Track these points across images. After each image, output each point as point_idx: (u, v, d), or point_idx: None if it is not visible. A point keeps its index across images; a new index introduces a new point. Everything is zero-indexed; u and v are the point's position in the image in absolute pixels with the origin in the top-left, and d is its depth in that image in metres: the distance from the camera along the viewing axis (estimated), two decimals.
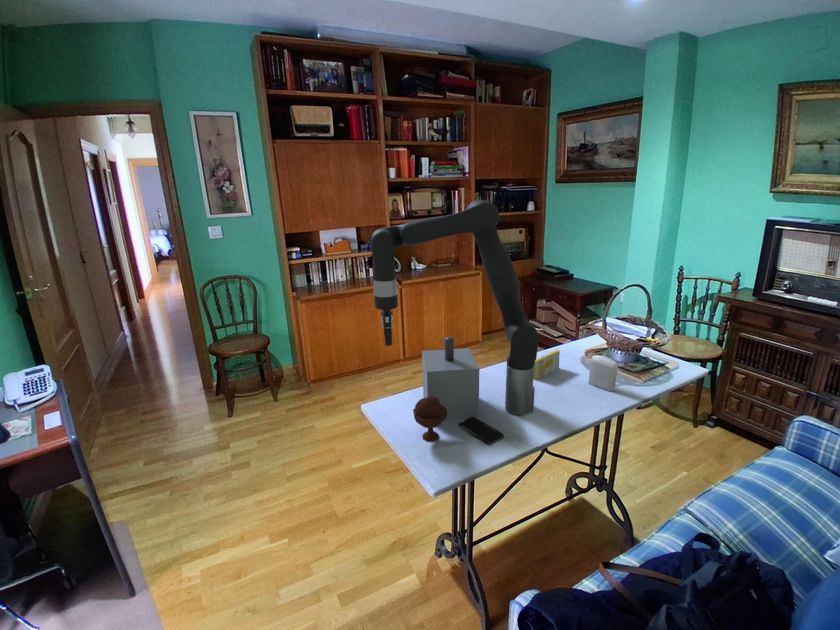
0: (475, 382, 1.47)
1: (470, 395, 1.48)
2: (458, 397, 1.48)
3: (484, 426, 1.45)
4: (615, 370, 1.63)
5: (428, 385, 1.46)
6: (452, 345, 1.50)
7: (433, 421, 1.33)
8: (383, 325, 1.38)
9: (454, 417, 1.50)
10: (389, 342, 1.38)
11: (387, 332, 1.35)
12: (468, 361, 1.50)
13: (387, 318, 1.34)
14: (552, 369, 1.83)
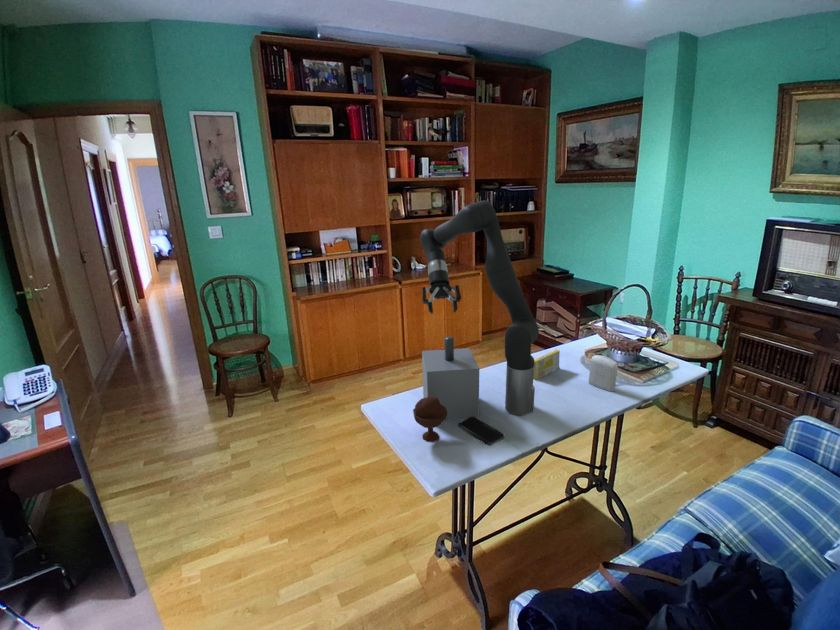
0: (475, 382, 1.47)
1: (470, 395, 1.48)
2: (458, 397, 1.48)
3: (484, 426, 1.45)
4: (615, 370, 1.63)
5: (428, 385, 1.46)
6: (452, 345, 1.50)
7: (433, 421, 1.33)
8: None
9: (454, 417, 1.50)
10: (428, 309, 1.59)
11: None
12: (468, 361, 1.50)
13: (422, 289, 1.63)
14: (552, 369, 1.83)
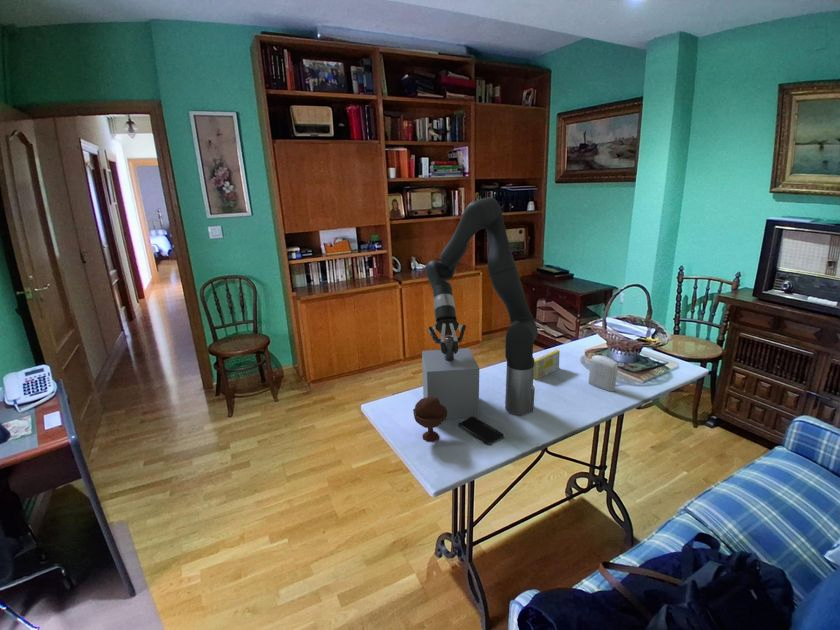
0: (475, 382, 1.47)
1: (470, 395, 1.48)
2: (458, 397, 1.48)
3: (484, 426, 1.45)
4: (615, 370, 1.63)
5: (428, 385, 1.46)
6: (452, 345, 1.50)
7: (433, 421, 1.33)
8: None
9: (454, 417, 1.50)
10: None
11: (435, 340, 1.52)
12: (468, 361, 1.50)
13: None
14: (552, 369, 1.83)
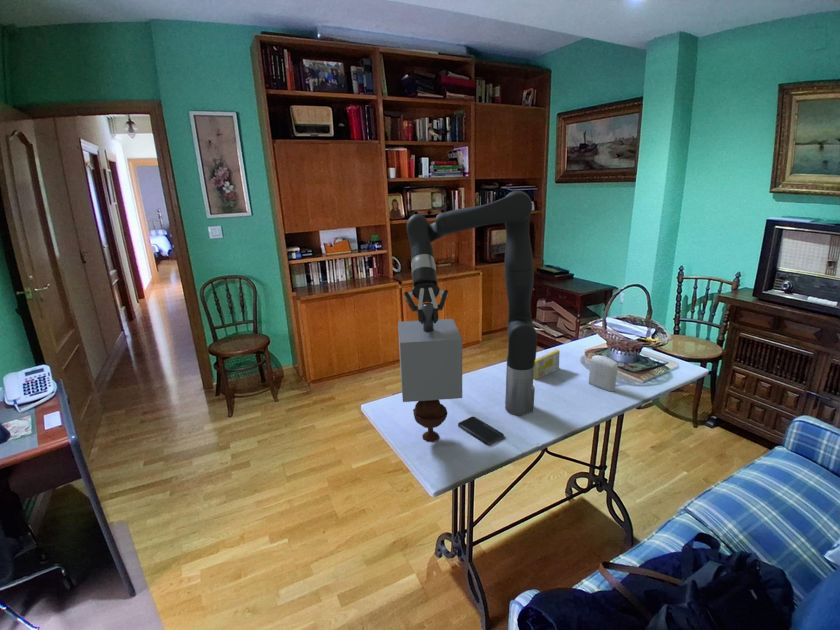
0: (457, 356, 1.24)
1: (452, 371, 1.26)
2: (438, 374, 1.26)
3: (484, 426, 1.45)
4: (615, 370, 1.63)
5: (402, 359, 1.23)
6: (431, 313, 1.28)
7: (433, 421, 1.33)
8: None
9: (433, 397, 1.28)
10: (418, 318, 1.28)
11: (411, 307, 1.30)
12: (450, 332, 1.28)
13: (404, 295, 1.31)
14: (552, 369, 1.83)
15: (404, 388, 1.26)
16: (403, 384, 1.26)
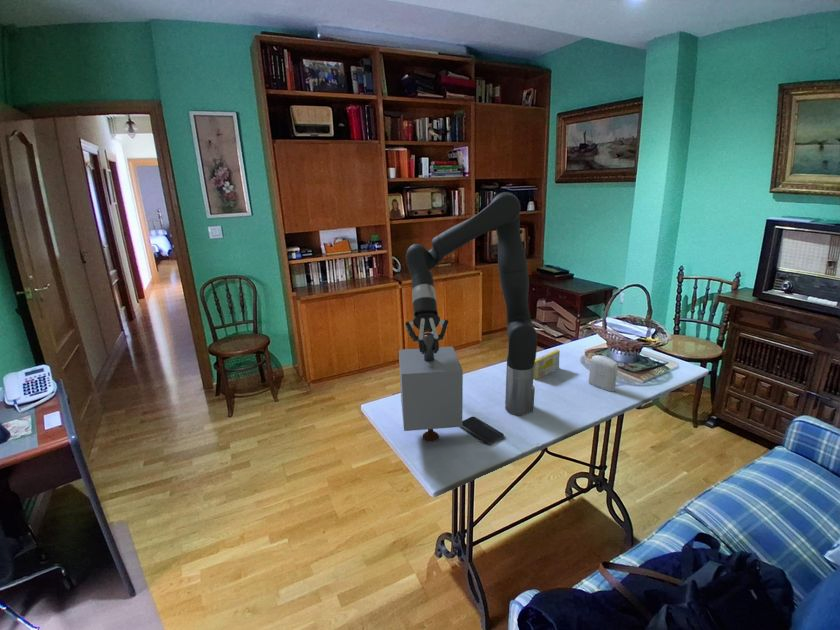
0: (458, 386, 1.27)
1: (452, 401, 1.28)
2: (438, 403, 1.28)
3: (484, 426, 1.45)
4: (615, 370, 1.63)
5: (403, 390, 1.25)
6: (432, 343, 1.30)
7: None
8: None
9: (434, 426, 1.30)
10: None
11: None
12: (450, 362, 1.30)
13: (405, 325, 1.33)
14: (552, 369, 1.83)
15: (405, 417, 1.28)
16: (404, 414, 1.28)
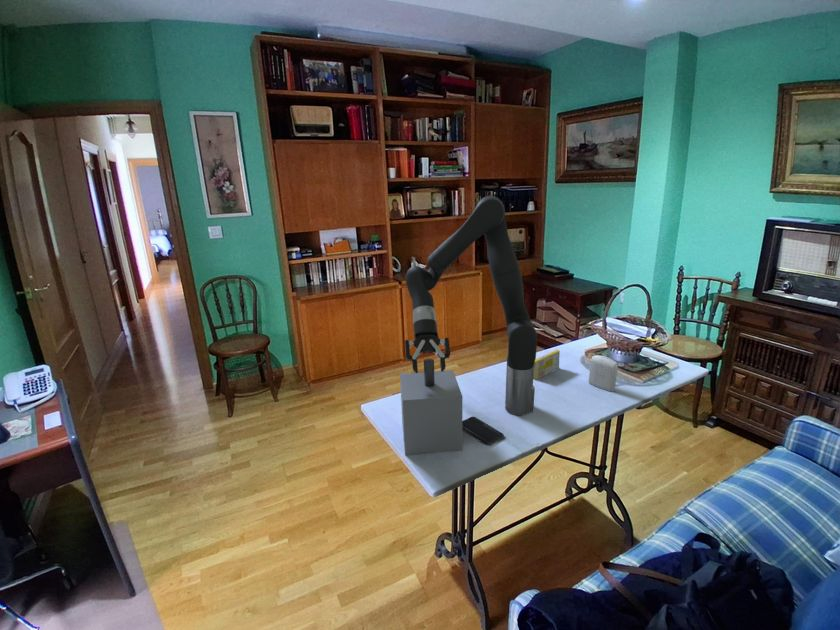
0: (458, 411, 1.29)
1: (452, 426, 1.31)
2: (439, 428, 1.31)
3: (484, 426, 1.45)
4: (615, 370, 1.63)
5: (404, 415, 1.28)
6: (432, 369, 1.33)
7: None
8: None
9: (434, 450, 1.33)
10: None
11: None
12: (451, 387, 1.33)
13: (405, 342, 1.36)
14: (552, 369, 1.83)
15: (406, 442, 1.31)
16: (405, 438, 1.31)
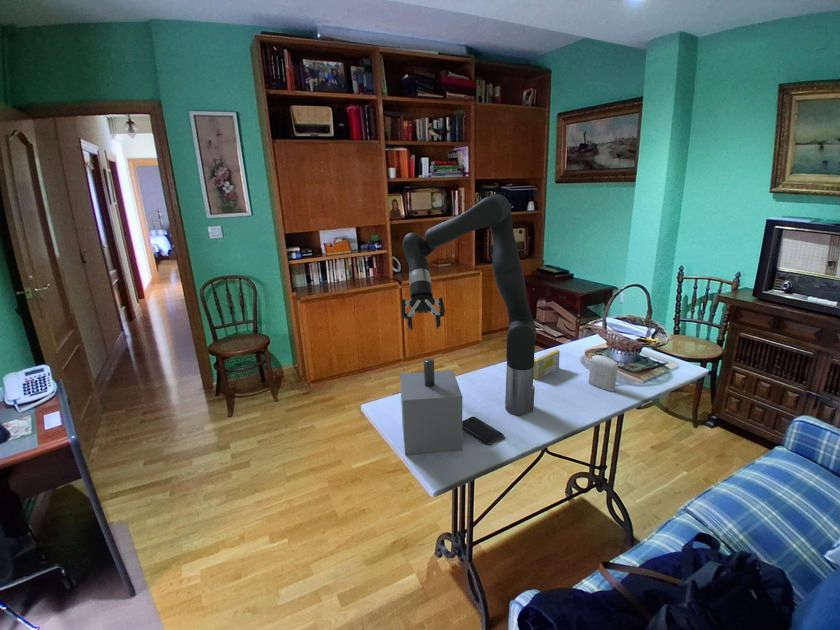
0: (458, 411, 1.29)
1: (452, 426, 1.31)
2: (439, 428, 1.31)
3: (484, 426, 1.45)
4: (615, 370, 1.63)
5: (404, 415, 1.28)
6: (432, 369, 1.33)
7: None
8: None
9: (434, 450, 1.33)
10: None
11: None
12: (451, 387, 1.33)
13: None
14: (552, 369, 1.83)
15: (406, 442, 1.31)
16: (405, 438, 1.31)
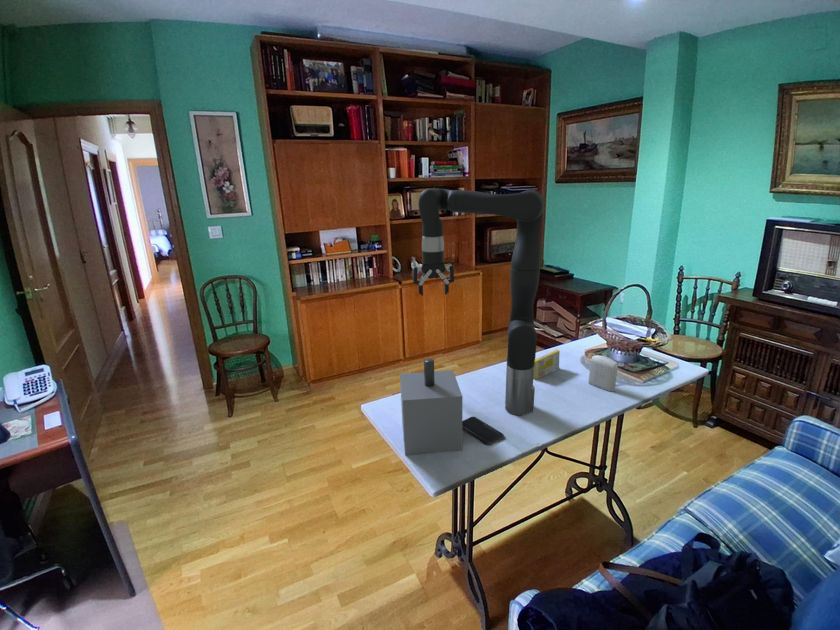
0: (458, 411, 1.29)
1: (452, 426, 1.31)
2: (439, 428, 1.31)
3: (484, 426, 1.45)
4: (615, 370, 1.63)
5: (404, 415, 1.28)
6: (432, 369, 1.33)
7: None
8: (422, 276, 1.53)
9: (434, 450, 1.33)
10: (419, 291, 1.53)
11: (413, 280, 1.52)
12: (451, 387, 1.33)
13: (413, 268, 1.51)
14: (552, 369, 1.83)
15: (406, 442, 1.31)
16: (405, 438, 1.31)
